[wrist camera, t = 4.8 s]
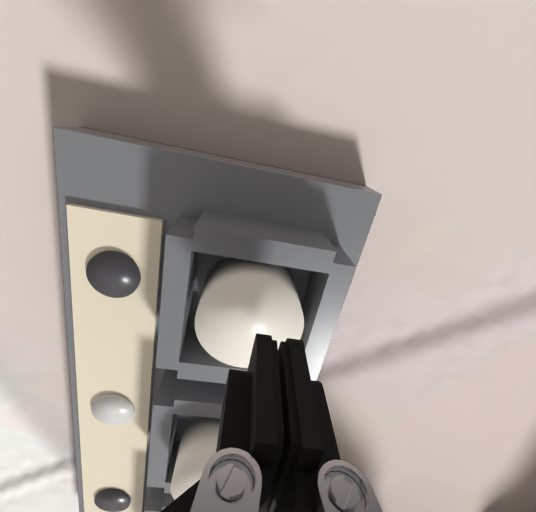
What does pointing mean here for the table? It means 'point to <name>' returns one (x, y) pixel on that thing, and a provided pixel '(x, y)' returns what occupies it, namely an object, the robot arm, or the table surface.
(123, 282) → the switch panel
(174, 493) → the button
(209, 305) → the button
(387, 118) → the table surface
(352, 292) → the table surface
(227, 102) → the table surface
